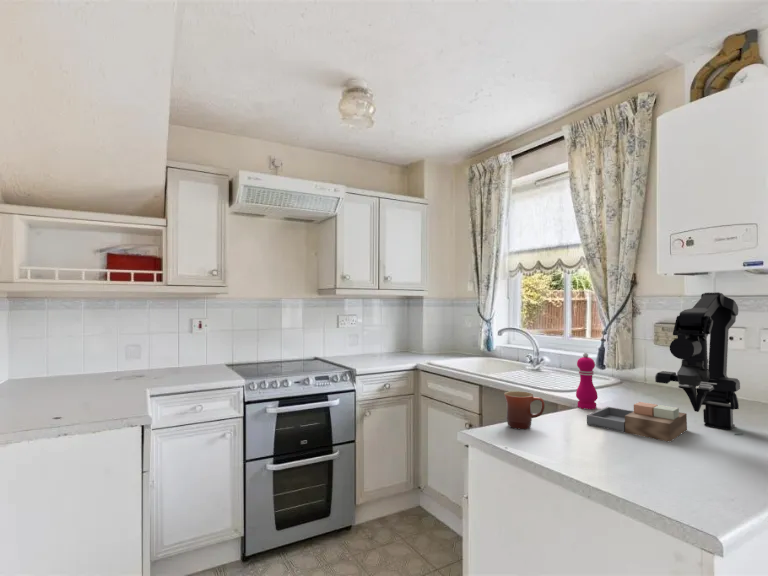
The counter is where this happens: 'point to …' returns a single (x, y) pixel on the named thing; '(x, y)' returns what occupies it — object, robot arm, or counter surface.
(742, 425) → the counter surface
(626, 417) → the brown wooden block
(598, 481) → the counter surface
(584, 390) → the pepper mill
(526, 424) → the mug
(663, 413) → the tile sage
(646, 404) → the tile terracotta
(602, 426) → the box
